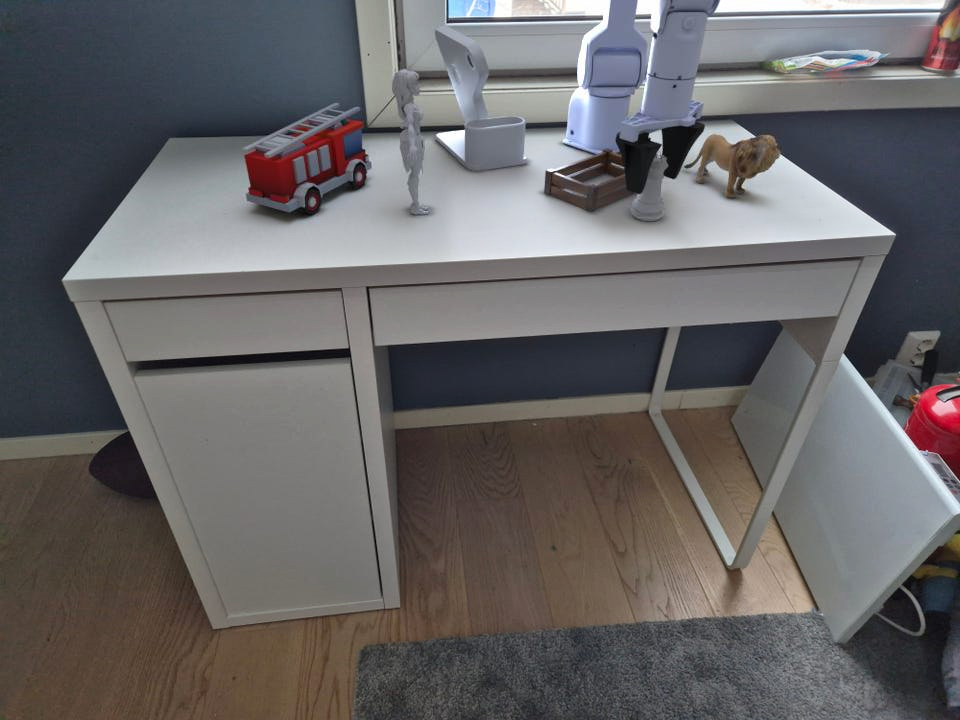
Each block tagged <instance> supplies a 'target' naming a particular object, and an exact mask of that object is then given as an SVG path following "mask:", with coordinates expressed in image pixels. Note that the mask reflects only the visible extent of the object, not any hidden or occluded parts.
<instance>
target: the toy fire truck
mask: <svg viewBox="0 0 960 720" xmlns="http://www.w3.org/2000/svg"><path fill="white" fill-rule="evenodd" d="M340 105H341V104H340V103H339V102H334V103H332V104H329V105H328V106H326V107H324V108H321V109H319V110H317V111H316V112H313V113H311V114H310V115H307V116H305V117H303V118H301V119H299V120H297V121H295V122H293V123H291V124H289V125H287V126H285V127H283V128H281V129H279V130H276V131H274V132H272V133H270V134H269V135H266V136H265V137H263V138H261V139H259V140H256V141H255V142H253V143H250V144H248V145H246V146H244V147H242V148H241V151H242V153H245V154H244V155H243V156H244V161H245V166H246V171H247V176H248V180H249V187H248V188H247V189H248V192H246V193H245V198H246V202H250V203H254V204H256V205H261V206H265V207H268V208H271V209H276V210H279V211H283V212H286V213H291V212H293V211H296V210H297V209H299V210H300V212H302V213H305V214H309V215H313V216H315V214H316V213H318V212H319V210H320V208H321V205H322V198H323V195H325V194H327V193H328V192H331V191H333V190H334V189H336V188H338V187H340V186H342V185H343V184H345V183H347V184H348V187H352V188H355V189H359V190H360V189H362V187H364V186H365V184H366V181H367V177H368V176H367V174H368V172H369V170H372V168H373V166H372V165H373V164H372V161H371V160H370V157H369V154H366V149H365V148H363V133H362V132H363V131H362V130H363V129H365V123H364V121H359V120H354V119H349V117H350V116H352V115H354V114H356V113H358V112H360V111H361V107H360V106H354V107H352V108H350V109H348V110H346V111H342V110H336V109H338V108H340ZM328 113H331V114H328ZM333 114H336V115H333ZM288 133H292V134H291V135H287V134H288Z"/></svg>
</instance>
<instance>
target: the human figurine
mask: <svg viewBox="0 0 960 720" xmlns="http://www.w3.org/2000/svg"><path fill="white" fill-rule="evenodd" d="M419 79H420V75H419V73H417V72H416V71H414V70H408V69H406V68H403V69H400V70H398V71H396V72H394V74H393V79H392V81H391V92H392V93H393V94H392V95H393V96H394V98H395V100H396V104H397V105H396V106H397V107H396V108H397V115H398V117H399V118H400V120H402V121H403V122H402V125H400V126H399V128H400V129H402V131H401V132H400V134H399V150H400V155H401V158H402V163H403V168H404V170H405V172H406V173H409V172H410V173H409V175H408V177H407V183H406V186H407V187H408V188H407V190H408V192H409V195H410V197H411V199H412V202H411V204H409V208H410V209H411V210H410V213H412V215H427V214H429V211H427V210H428V207H427V206H424V205H423V206H422V205H421V204H419V203H420V202H419V184H420V172H421V174H422V175H423V174H424V171H423V169H424V168H423V162H424V159H425V151H426V143H425V138H424V137H423V135H422V134H421V121H422V120H423V119H424V116H425V113H424V110H422V109H421V107H420V106H418V105H416V103H415V101H414V100H415V98H414V96H417V97H418V96H419V95H420V94H421V89H420V88H421V85H420V83H419V82H418V80H419ZM403 129H404V130H403Z"/></svg>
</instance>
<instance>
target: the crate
mask: <svg viewBox="0 0 960 720" xmlns="http://www.w3.org/2000/svg"><path fill="white" fill-rule="evenodd" d="M544 173H545V174H544V185H543V186H544V187H543V193H544V194H546V195H548V196H553V197H555V198H558V199H560V200H562V201H565V202H568V203H570V204H572V205H575V206H577V207H579V208H581V209H584V210H585V211H587V212H590V213H592V212H594V211H596V210H597V209H600V208H602V207H604V206H607V205H609V204H611V203H613V202H616V201H618V200H621V199H623V198H625V197H628V196H630V195H632V194H634V193H633V192H631V191H628V190H627V189H626V180H625V171H624V165H623V160H622V156H621V154H619V153H613V150H610V149H604V150H603V152H602V153H599V154H593V155H591V156H587V157H584V158H582V159H579V160H576V161H574V162H570V163H568V164H565V165H563V166H559V167H557V168H548V169H545V172H544ZM603 174H607V175H610V176H613V178H611V179H608V180H605V181H603V182H601V183H597V184H593V183H592V184H587V183H585V181H588V180H590V179H593V178H595V177H598V176H601V175H603Z"/></svg>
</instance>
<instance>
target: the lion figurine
mask: <svg viewBox="0 0 960 720" xmlns="http://www.w3.org/2000/svg"><path fill="white" fill-rule="evenodd" d="M776 141H777V140H776V139H775V137H774V136H772V135H770V134H761V135H757V136H755V137H750V138H749V139H741V140H739V141H737V142H736V143H734V144H733V143H731V142H729V141H728V140H727V139H726V137H724V136H723V135H721V134H716V133H712V134H710V135H708V136H707V137H706V139H705V140H704V142H703V144H702V146H701V148H700V151H699V152H698V154H697V156H696V158H695V159H694V160H693V161H692V162H691V163H688V164H684V165H683V168H684V169H686V170H688V169H689V170H690V169H691V168H693V167H694V166H695V165H697V163H698V162H699V160H700V159H701V161H700V164H699V167H698V169H697V176H696V182H697V183H699V184H703V183H705V182H706V179H705V178H704V176H703V174H704V175H707V174H708V173H709V169H707V166H708V165H709V164H711V163H713V162H715V164H716V165H717V166H718V168H719V169H720V170H722V171H725V172H727V173H728V177H727V184H726V190H725V197H726V198H728V199H734V198H735V197H736V194H735V192H736V193H738V194H741V195H742V194H745V193H746V189H745V188H743V184H744V183H745V181H746V179H747V180H750V179H753V178H755V177H756V176H757V175H758V174H761V173H765V172H766V171H769V170H770V168H772V167H773V165H774V164H775V162H776V160H778V159H779V158H780V157H781V154H782V151H781V149H778V148H777V147H778V143H777V142H776Z"/></svg>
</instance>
